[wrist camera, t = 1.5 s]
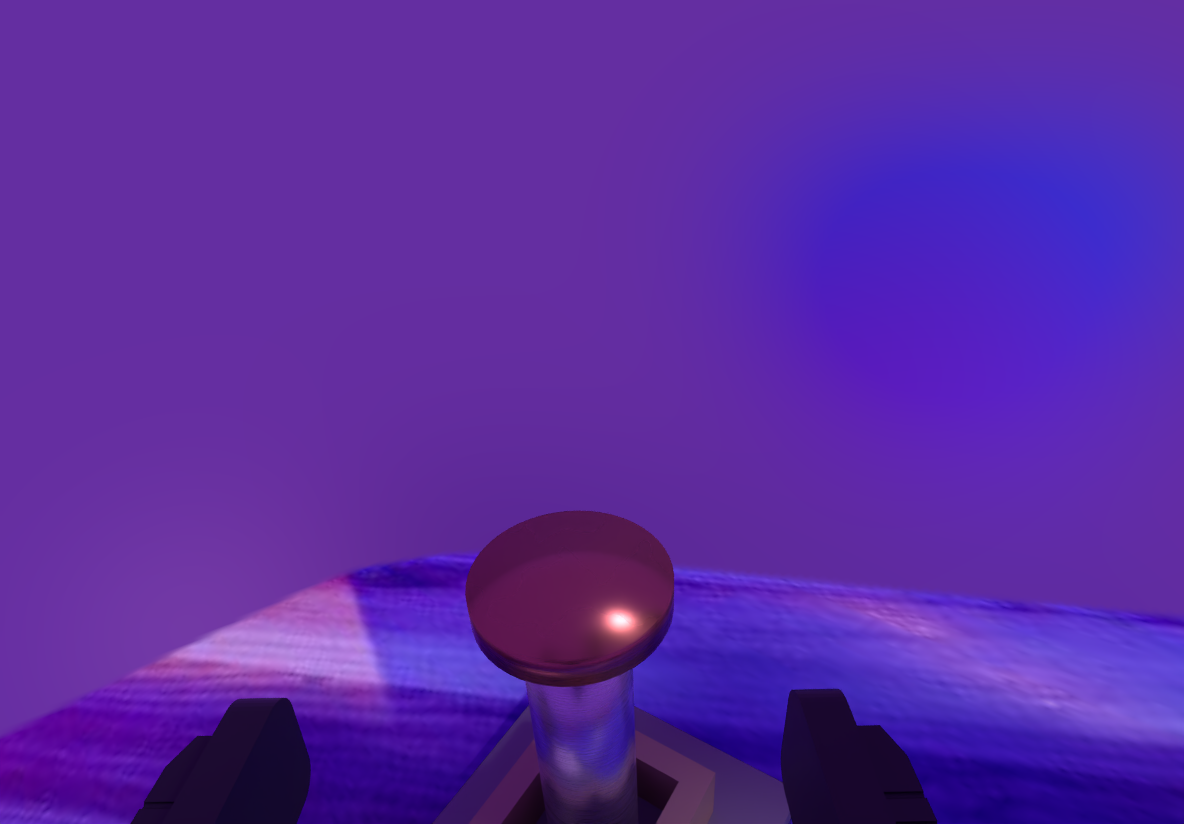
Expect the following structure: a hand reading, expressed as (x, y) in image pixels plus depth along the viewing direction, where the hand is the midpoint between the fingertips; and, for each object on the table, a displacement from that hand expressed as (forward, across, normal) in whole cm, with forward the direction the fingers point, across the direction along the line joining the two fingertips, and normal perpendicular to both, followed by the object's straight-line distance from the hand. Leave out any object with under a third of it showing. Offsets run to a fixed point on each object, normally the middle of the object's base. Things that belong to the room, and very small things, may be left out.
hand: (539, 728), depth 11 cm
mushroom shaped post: (+11, 0, +22) cm, 25 cm away
